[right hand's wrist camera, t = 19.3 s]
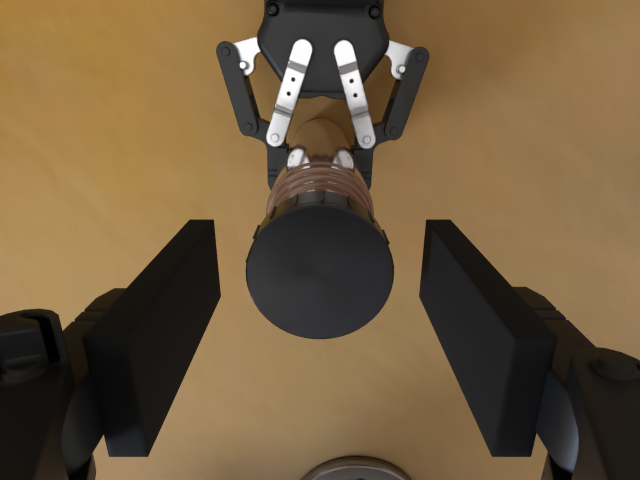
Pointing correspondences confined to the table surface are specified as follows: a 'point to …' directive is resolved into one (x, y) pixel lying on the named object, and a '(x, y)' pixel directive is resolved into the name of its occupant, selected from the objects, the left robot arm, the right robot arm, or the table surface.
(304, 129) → the bottle
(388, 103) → the left robot arm
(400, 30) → the table surface
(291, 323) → the cap
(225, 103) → the table surface
